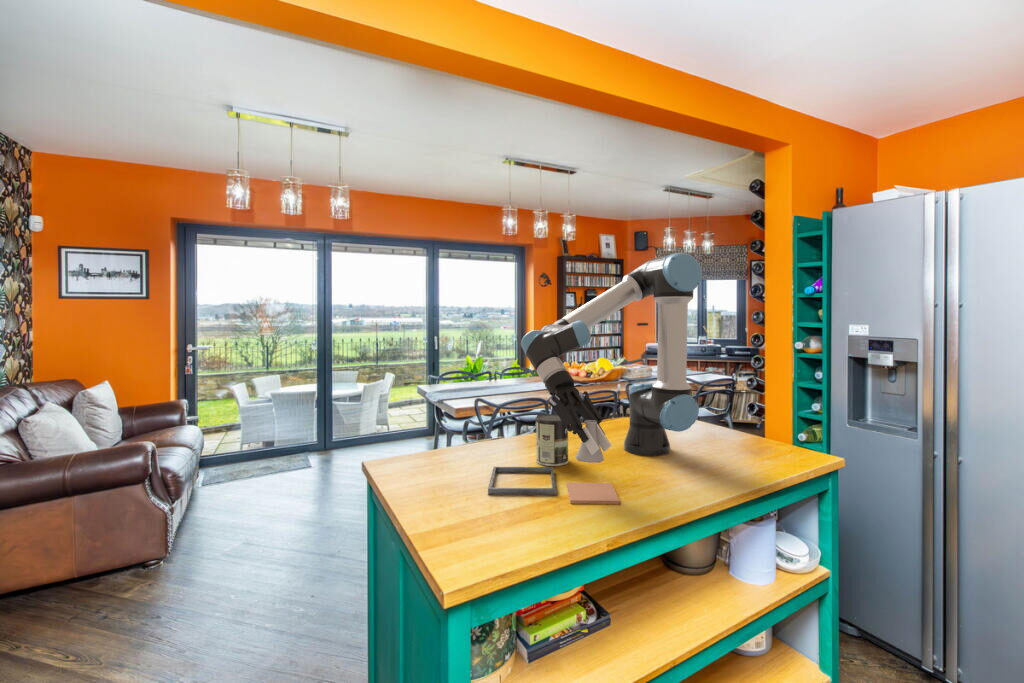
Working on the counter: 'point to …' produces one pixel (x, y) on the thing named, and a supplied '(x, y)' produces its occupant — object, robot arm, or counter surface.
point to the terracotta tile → (592, 493)
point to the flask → (583, 450)
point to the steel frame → (522, 490)
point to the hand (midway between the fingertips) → (601, 450)
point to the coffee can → (551, 440)
